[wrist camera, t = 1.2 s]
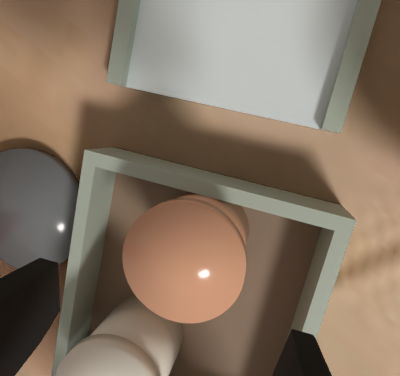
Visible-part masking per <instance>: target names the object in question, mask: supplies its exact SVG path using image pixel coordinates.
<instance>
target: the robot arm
mask: <svg viewBox="0 0 400 376" xmlns="http://www.w3.org/2000/svg"><path fill="white" fill-rule="evenodd" d="M59 311H60V303H59V274H58V263H57V262H54V261H50V260H47V259H43V258H38V259H36V260H34V261H32V262H30V263H28V264H27V265H25V266H23V267H21V268H19V269H17V270H15V271H13V272H11V273H10V274H8V275H6V276H4V277H2V278H0V376H15V375H16V373H17V372H18V371H19V369H20V368H21V367H22V366H23V364H24V363H25V362H26V360H27V359H28V358H29V357H30V355H31V354H32V353H33V351H34V350H35V349H36V347H37V346H38V345H39V343H40V342H41V341H42V339H43V337H44V336H45V334H46V333H47V331H48V329H49V328H50V326H51V325H52V323H53V321H54V319H55V318H56V316H57V314H58V313H59ZM272 376H332V375H331V373H330V371H329V368H328V366H327V364H326V362H325V359H324V357H323V355H322V352H321V350H320V348H319V345H318V343H317V341H316V338H315V337H314V335H312V334H309V333H305V332H302V331H298V330H295V329H291V331H290V334H289V336H288V339H287V341H286V343H285V346H284V348H283V350H282V353H281V355H280V358H279V360H278V362H277V365H276V367H275V369H274V372H273V374H272Z"/></svg>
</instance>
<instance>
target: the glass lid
mask: <svg viewBox="0 0 400 376" xmlns="http://www.w3.org/2000/svg"><path fill="white" fill-rule="evenodd" d="M381 1H382V0H119V2H118V9H117V15H116V22H115V28H114V35H113V41H112V48H111V54H110V61H109V67H108V74H107V80H106V82H108V83H111V84H114V85H118V86H123V87H127V88H132V89H136V90H141V91H146V92H150V93H155V94H159V95H164V96H168V97H173V98H178V99H182V100H187V101H191V102H196V103H200V104H205V105H210V106H214V107H219V108H223V109H228V110H232V111H237V112H242V113H246V114H251V115H255V116H260V117H264V118H269V119H274V120H278V121H283V122H287V123H292V124H296V125H301V126H306V127H310V128H315V129H319V130H324V131H328V132H333V133H341V131H342V127H343V124H344V121H345V118H346V114H347V111H348V108H349V105H350V101H351V98H352V95H353V92H354V88H355V85H356V82H357V79H358V75H359V72H360V69H361V66H362V62H363V59H364V56H365V53H366V49H367V46H368V43H369V40H370V36H371V33H372V30H373V27H374V23H375V20H376V17H377V14H378V10H379V7H380V4H381Z"/></svg>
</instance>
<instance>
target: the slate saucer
mask: <svg viewBox="0 0 400 376" xmlns="http://www.w3.org/2000/svg"><path fill="white" fill-rule="evenodd" d="M78 190H79V182H78V180H77V178H76V177H75V176H74V174H73V173H72V172H71V170H70V169H69V168H68V167H67V166H66V165H65V164H64V163H63V162H61V161H60V160H59V159H57V158H56V157H54V156H53V155H51V154H49V153H47V152H44V151H41V150H37V149H32V148H21V149H10V150H6V151H3V152H0V259H1V260H3V261H4V262H5V263H7V264H9V265H11V266H13V267H15V268H18V269H19V268H21V267H23V266H25V265H27V264H28V263H30V262H32V261H34V260H36V259H38V258H43V259H47V260H50V261H54V262H57V263H58V265H59V264H61V263H62V262H64V261H66V260H67V259H68V258H69V252H70V245H71V238H72V231H73V224H74V217H75V211H76V204H77V197H78Z"/></svg>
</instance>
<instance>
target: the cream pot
mask: <svg viewBox="0 0 400 376" xmlns="http://www.w3.org/2000/svg"><path fill="white" fill-rule="evenodd" d="M182 342H183V329H182V325H181V323H179V322H175V321H171V320H168V319H165V318H163V317H161V316H159V315H157V314H155V313H154V312H152V311H151V310H150V309H148V308H147V307H146V306H145V305H144V304H142V302H141V301H140V300H139V299H138V298H137V297H136V295H133V296H130V297H127V298H125V299H124V300H122V301H121V302H120V303H119V304H118V305H117V306H116V307H115V308H114V310H113V311H112V312H111V313H110V314H109V315H108V316H107V317H106V318H105V320H104V321H103V322H102V323H101V324H100V325H99V326H98V327H97V328H96V330H95V331H94V332H93V333H92V334H91V335H90V336H89V337H86V338H84V339H83V340H81V341H80V342H78V343H77V344H76V345H75V346H74V347H73V348H72V349H71V351H70V352H69V353H68V354H67V355H66V356H65V357H64V358H63V360H62V361H61V362H60V364H59V366H58V369H57V371H56V376H169V374H170V372H171V370H172V367H173V365H174V362H175V360H176V358H177V355H178V353H179V351H180V348H181V346H182Z"/></svg>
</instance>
